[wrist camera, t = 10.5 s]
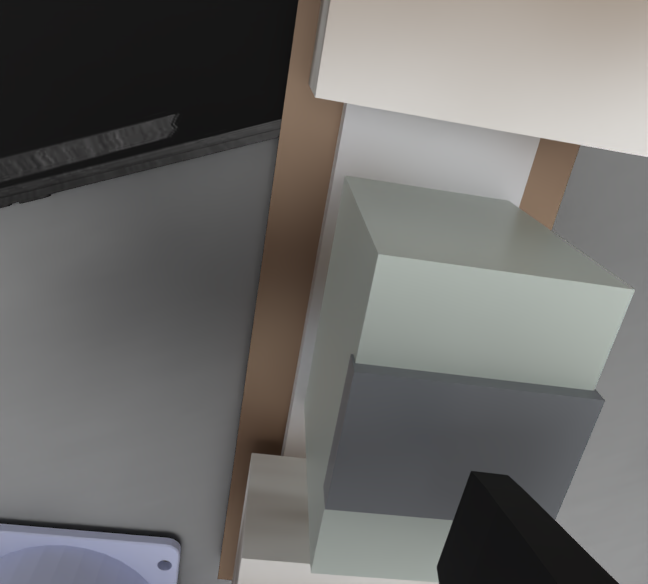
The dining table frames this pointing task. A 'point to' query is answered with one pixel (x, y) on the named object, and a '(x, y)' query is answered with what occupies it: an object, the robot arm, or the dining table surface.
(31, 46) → the phone
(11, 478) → the dining table surface
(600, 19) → the board
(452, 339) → the block
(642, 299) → the dining table surface
